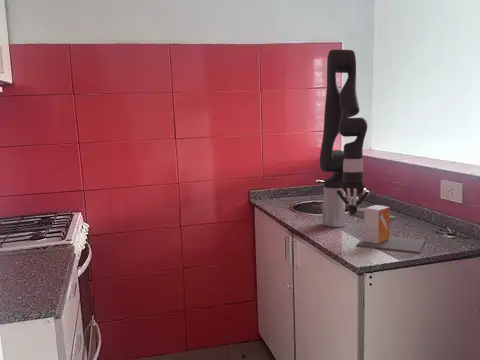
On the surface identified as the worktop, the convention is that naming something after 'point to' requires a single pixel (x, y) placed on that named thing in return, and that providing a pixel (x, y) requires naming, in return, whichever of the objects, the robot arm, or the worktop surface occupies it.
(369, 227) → the small box
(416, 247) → the mat
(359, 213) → the soap mold
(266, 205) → the worktop surface
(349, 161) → the robot arm
